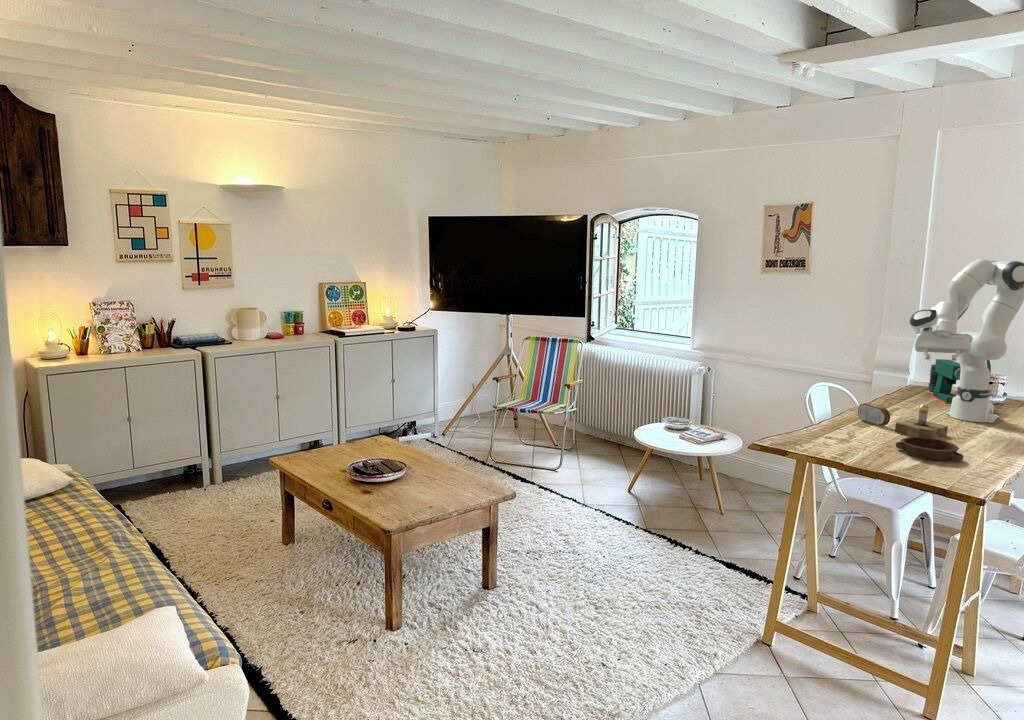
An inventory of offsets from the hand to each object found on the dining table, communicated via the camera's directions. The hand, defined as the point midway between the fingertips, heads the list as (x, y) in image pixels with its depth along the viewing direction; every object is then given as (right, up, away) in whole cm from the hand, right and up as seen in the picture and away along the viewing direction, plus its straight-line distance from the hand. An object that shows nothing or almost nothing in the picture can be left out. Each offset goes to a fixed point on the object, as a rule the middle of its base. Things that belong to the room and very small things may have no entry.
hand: (940, 359), depth 290 cm
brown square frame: (-11, -31, -4) cm, 33 cm away
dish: (-25, -36, -34) cm, 56 cm away
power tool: (+38, -22, +53) cm, 69 cm away
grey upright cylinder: (-11, -31, -4) cm, 33 cm away
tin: (-22, -28, +12) cm, 38 cm away
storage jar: (+46, -18, +77) cm, 91 cm away
